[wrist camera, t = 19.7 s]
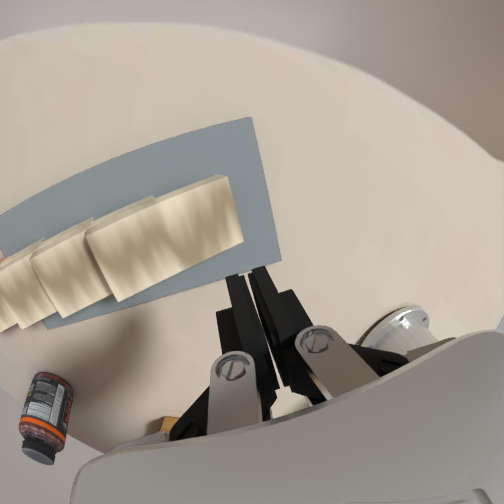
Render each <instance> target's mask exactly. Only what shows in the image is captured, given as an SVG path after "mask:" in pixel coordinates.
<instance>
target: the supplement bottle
mask: <svg viewBox="0 0 504 504" xmlns="http://www.w3.org/2000/svg"><path fill="white" fill-rule="evenodd" d="M72 402H73V391H72V389H71V387H70V386H69V385H68V384H67V383H66V382H65V381H64V380H62V379H61V378H59V377H58V376H56V375H53V374H50V373H46V372H42V373H38V374H36V375H35V377H34V379H33V381H32V384H31V387H30V389H29V393H28V395H27V398H26V402H25V405H24V408H23V412H22V415H21V419H20V423H19V431H20V433H21V435H22V436H23V437H24V439H25V440H24V441H23V446H22V451H23V453H24V454H26V455H27V456H28V457H30V458H31V459H33V460H35V461H37V462H40V463H42V464H46V465H53V464H54V460H55V454H56V453H57V452H60V451H62V450H63V449H64V445H65V438H66V433H67V427H68V421H69V416H70V411H71V406H72Z"/></svg>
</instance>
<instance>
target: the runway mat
mask: <svg viewBox="0 0 504 504" xmlns="http://www.w3.org/2000/svg"><path fill="white" fill-rule="evenodd" d="M217 174H218V175H223V176H227V177H228V181H229V185H230V188H231V192H232V196H233V200H234V204H235V208H236V212H237V216H238V220H239V224H240V228H241V232H242V235H243V239H244V242H242V243H239V244H237V245H235V246H233V247H231V248H229V249H227V250H225V251H223V252H221V253H218V254H216V255H214V256H212V257H210V258H208V259H206V260H204V261H202V262H200V263H198V264H196V265H193V266H191V267H189V268H187V269H185V270H183V271H181V272H179V273H177V274H175V275H173V276H171V277H169V278H167V279H165V280H163V281H161V282H158V283H156V284H154V285H152V286H150V287H148V288H146V289H144V290H142V291H140V292H138V293H136V294H134V295H132V296H130V297H128V298H126V299H124V300H122V301H120V302H118V301H117V299H116V298H115V296H114V294H111V295H109V296H107V297H105V298H103V299H101V300H99V301H97V302H95V303H93V304H91V305H89V306H87V307H85V308H83V309H81V310H79V311H77V312H75V313H73V314H71V315H69V316H67V317H65V318H62V317H61V315H60V314H59V312H58V311H56V312H55V313H53V314H51V315H49V316H47V317H45V318H43V319H41V321H42V322H43V324H44V325H45V327H46V328H47V330H48V329H52V328H56V327H59V326H63V325H67V324H70V323H74V322H77V321H81V320H85V319H88V318H92V317H95V316H99V315H102V314H106V313H109V312H113V311H116V310H120V309H123V308H127V307H130V306H134V305H137V304H141V303H144V302H147V301H151V300H154V299H158V298H161V297H164V296H168V295H171V294H175V293H178V292H181V291H185V290H188V289H191V288H195V287H198V286H201V285H205V284H208V283H211V282H214V281H218V280H221V279H224V278H225V277H227V276H230V275H234V274H237V273H238V274H240V273H244V272H247V271H250V270H252V269H254V268H257V267H260V266H266V265H269V264H272V263H276V262H279V261H282V259H281V254H280V249H279V244H278V239H277V234H276V229H275V224H274V219H273V214H272V209H271V204H270V199H269V194H268V190H267V185H266V180H265V175H264V171H263V166H262V161H261V157H260V152H259V148H258V143H257V139H256V134H255V130H254V126H253V121H252V117H248V118H243V119H239V120H234V121H230V122H226V123H222V124H218V125H214V126H210V127H207V128H203V129H199V130H196V131H192V132H189V133H185V134H182V135H179V136H176V137H172V138H169V139H166V140H163V141H160V142H157V143H154V144H151V145H148V146H145V147H143V148H140V149H137V150H134V151H132V152H129V153H126V154H124V155H121V156H119V157H116V158H114V159H111V160H109V161H106V162H104V163H101V164H99V165H97V166H94V167H92V168H90V169H87V170H85V171H83V172H81V173H79V174H76V175H74V176H72V177H70V178H68V179H66V180H64V181H62V182H60V183H58V184H56V185H54V186H52V187H50V188H48V189H46V190H44V191H42V192H40V193H38V194H36V195H35V196H33V197H31V198H29V199H27V200H25V201H24V202H22V203H20V204H19V205H17V206H15V207H13V208H12V209H10V210H8V211H7V212H5V213H3V214H2V215H0V249H1V251H2V253H3V255H4V257H5V258H6V257H8V256H12V255H14V254H15V253H17V252H19V251H21V250H22V249H24V248H26V247H28V246H29V245H31V244H33V243H35V242H37V241H38V240H40V239H42V238H45V240H48V239H50V238H52V237H53V236H55V235H57V234H59V233H61V232H63V231H65V230H67V229H69V228H71V227H73V226H75V225H77V224H79V223H81V222H83V221H85V220H87V219H89V218H91V217H94V220H97V219H99V218H101V217H103V216H105V215H108V214H110V213H112V212H114V211H116V210H119V209H121V208H123V207H125V206H128V205H130V204H132V203H134V202H137V201H139V200H141V199H144V198H146V197H149V196H151V195H152V196H153V197H155V198H158V197H160V196H162V195H165V194H167V193H170V192H172V191H175V190H177V189H180V188H183V187H185V186H188V185H190V184H193V183H196V182H198V181H201V180H204V179H206V178H209V177H212V176H215V175H217Z"/></svg>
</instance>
